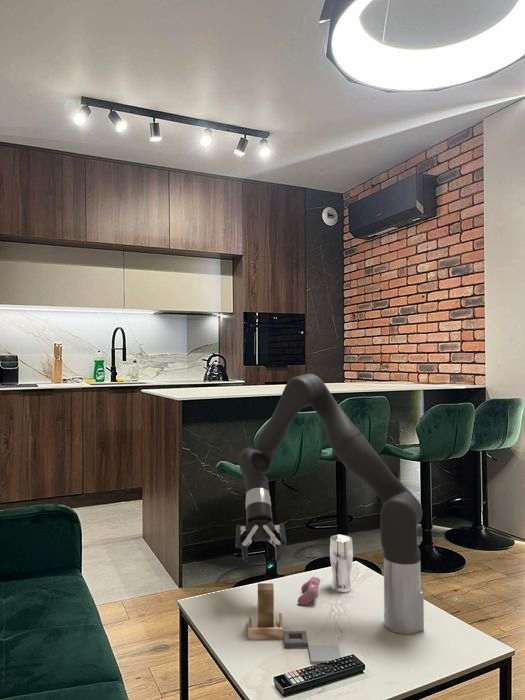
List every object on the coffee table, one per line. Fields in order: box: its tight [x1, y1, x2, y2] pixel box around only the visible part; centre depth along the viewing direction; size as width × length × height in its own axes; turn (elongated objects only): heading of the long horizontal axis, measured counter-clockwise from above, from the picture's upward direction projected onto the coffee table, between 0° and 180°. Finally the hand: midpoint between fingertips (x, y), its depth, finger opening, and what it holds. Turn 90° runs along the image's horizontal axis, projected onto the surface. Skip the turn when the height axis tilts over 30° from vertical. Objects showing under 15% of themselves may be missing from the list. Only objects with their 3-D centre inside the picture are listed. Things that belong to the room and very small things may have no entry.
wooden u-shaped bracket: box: [247, 612, 284, 640], centre depth 130 cm, size 9×8×2 cm
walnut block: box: [257, 582, 275, 627], centre depth 131 cm, size 4×4×11 cm
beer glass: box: [329, 534, 354, 593], centre depth 156 cm, size 7×7×15 cm
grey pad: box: [307, 644, 342, 665], centre depth 119 cm, size 7×7×1 cm
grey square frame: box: [283, 630, 309, 649], centre depth 125 cm, size 6×6×1 cm
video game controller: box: [297, 575, 321, 606], centre depth 149 cm, size 10×5×7 cm, turn 169°
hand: (262, 560), depth 141 cm, fingers open, 8 cm apart
